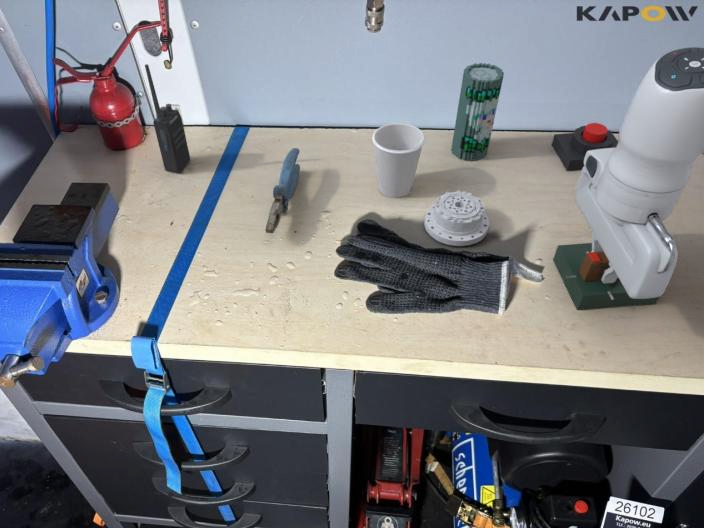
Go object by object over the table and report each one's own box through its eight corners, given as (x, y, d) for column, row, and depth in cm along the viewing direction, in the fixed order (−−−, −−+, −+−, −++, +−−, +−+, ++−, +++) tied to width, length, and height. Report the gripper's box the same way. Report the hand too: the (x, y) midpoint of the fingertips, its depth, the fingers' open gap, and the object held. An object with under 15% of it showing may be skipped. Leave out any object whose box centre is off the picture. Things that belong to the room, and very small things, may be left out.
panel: (625, 254, 90) (633, 238, 88) (659, 310, 83) (668, 294, 80) (545, 260, 90) (550, 244, 88) (571, 316, 83) (578, 301, 80)
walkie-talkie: (180, 175, 109) (154, 69, 94) (164, 171, 109) (136, 66, 95) (193, 160, 111) (170, 55, 97) (177, 156, 112) (152, 52, 97)
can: (467, 164, 107) (481, 85, 95) (445, 148, 110) (456, 70, 99) (493, 153, 108) (510, 74, 97) (471, 137, 112) (485, 59, 101)
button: (599, 131, 105) (602, 122, 104) (607, 142, 103) (611, 133, 102) (579, 132, 105) (582, 123, 104) (586, 144, 103) (590, 135, 101)
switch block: (606, 140, 109) (613, 121, 106) (624, 166, 104) (632, 147, 101) (551, 144, 109) (557, 125, 106) (566, 171, 104) (573, 151, 101)
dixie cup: (426, 198, 101) (433, 147, 93) (378, 206, 100) (381, 155, 93) (410, 169, 106) (415, 119, 99) (364, 177, 106) (366, 126, 98)
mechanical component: (432, 201, 100) (416, 239, 94) (435, 179, 97) (419, 217, 91) (493, 213, 98) (481, 253, 92) (498, 191, 94) (486, 232, 88)
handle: (614, 268, 84) (623, 249, 81) (620, 278, 83) (629, 259, 80) (578, 271, 84) (586, 251, 81) (583, 281, 83) (592, 262, 80)
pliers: (277, 247, 95) (273, 219, 90) (263, 246, 95) (260, 217, 90) (303, 171, 107) (301, 143, 103) (291, 170, 108) (289, 142, 103)
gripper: (707, 246, 66) (658, 327, 76) (629, 140, 79) (596, 220, 89) (650, 251, 66) (608, 330, 76) (581, 144, 79) (553, 224, 89)
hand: (601, 270), depth 83 cm, fingers closed on handle, 2 cm apart
